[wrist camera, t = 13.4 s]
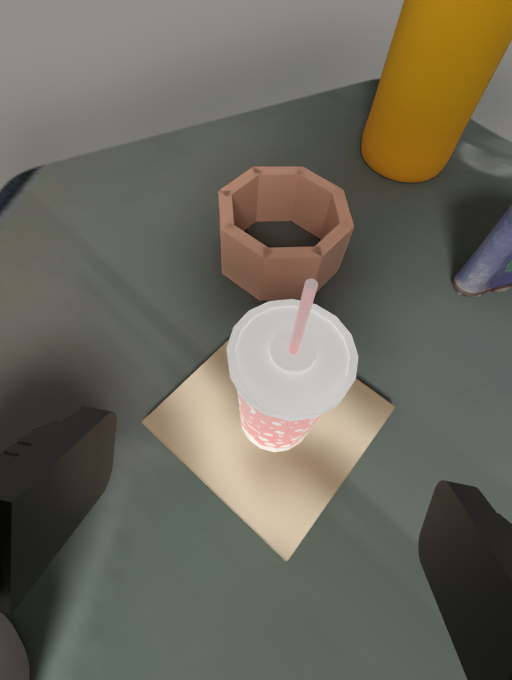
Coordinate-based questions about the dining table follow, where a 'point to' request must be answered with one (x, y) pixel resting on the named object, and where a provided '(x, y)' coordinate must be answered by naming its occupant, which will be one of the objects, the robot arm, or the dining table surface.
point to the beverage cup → (289, 368)
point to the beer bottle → (433, 83)
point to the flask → (489, 262)
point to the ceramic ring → (282, 205)
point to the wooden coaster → (265, 452)
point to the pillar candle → (12, 653)
